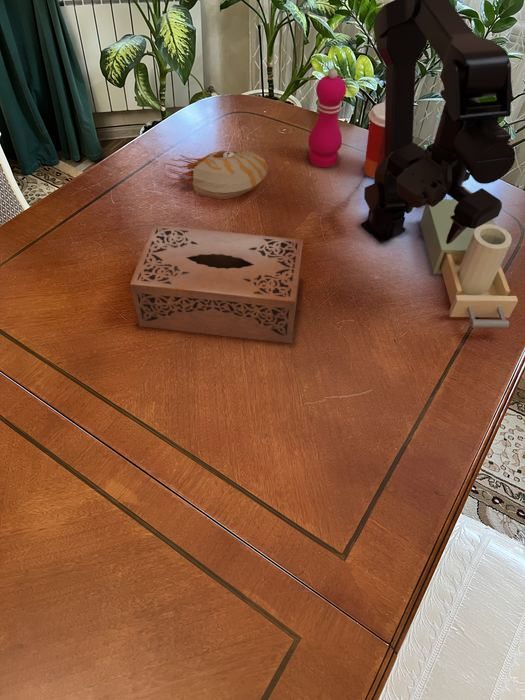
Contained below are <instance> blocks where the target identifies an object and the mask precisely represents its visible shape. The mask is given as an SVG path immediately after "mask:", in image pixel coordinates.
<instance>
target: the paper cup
mask: <svg viewBox="0 0 525 700" xmlns="http://www.w3.org/2000/svg"><path fill="white" fill-rule="evenodd" d="M367 115H368V116H367V117H368V118H369V125H368V133H367V142H366V151H365V159H364V168H363V169H364V174H365V175H366V176H367V177H369V178H372V179H375V171H376V170H377V168H378V166H379V164H380V163H381V161H382V159H383V158H384V147H385V101H384V102H380V103H377V104H375V105H374V106H373V107H372V108H371V109H370V111H369V112H368V114H367Z"/></svg>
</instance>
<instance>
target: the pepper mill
mask: <svg viewBox="0 0 525 700" xmlns="http://www.w3.org/2000/svg"><path fill="white" fill-rule="evenodd" d="M346 94H347V85H346V82H345V80H344V79H343V78H342V77H340V76H338V70H337V69H336V68H331V69H330V70H329V71H328V75H325V76H323V77H321V78H320V79H319V81H318V83H317V84H316V87H315V95H316V97H317V98H318V99H317V102H316V103H317V104H316V108H317V110H318V117H317V120H316V122H315V124H314V126H313V128H312V129H311V131H310V134H309V136H308V146H309V149H310V150H309V154H308V156H309V157H308V160H309V162H310V163H311V164H312V165H313V166H316V167H319V168H329V167H333V166H334V165H336V164H337V162H338V159H339V158H338V157H339V152H338V151H340V149H341V147H342V144H343V137H342V131H341V129H340V126H339V122H338V117H339V112H340V111H341V110H342V105H343V100H344V99H345V97H346Z"/></svg>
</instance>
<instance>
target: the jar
mask: <svg viewBox="0 0 525 700" xmlns="http://www.w3.org/2000/svg"><path fill="white" fill-rule="evenodd" d="M512 241H513V238H512V235H511V234H510V232H509V231H507V229H506V228H504V227H502V226H501V225H500V226H499V225H496V224H495V225H493V224H483V225H481V226H479V227H477V228H475V230H474V233H473V235H472V238H471V240H470V243H469V245H468V248H467V250H466V253H465V255H464V258H463V260H462V263H461V265H460V268H459V270H458V273H457V276H458V279H459V282H460V286H461V289H462V292H463V293H465V294H468V295H484V294H485V293H487V292H488V290H489V289H490V287H491V285H492V282H493V280H494V278H495V276H496V274H497V272H498V270H499V268H500V266H501V267H502V263H503V261H504V259H505V257H506V255H507V253H508V250H509V248H510V247H511V244H512Z"/></svg>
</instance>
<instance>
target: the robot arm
mask: <svg viewBox="0 0 525 700" xmlns="http://www.w3.org/2000/svg"><path fill="white" fill-rule="evenodd" d="M373 34H374V37H375V45H376V51H377V53H378V55H379V56H380V58H381V60H382V62H383V64H384V65H385V97H384V100H385V101H384V102H385V147H384V158H383V159H382V161H381V163H380V164H379V166H378V168H377V170H376V171H375V178H373V179H374V180H373V183H372V184H370V185H368V186H365V187H364V191H363V192H364V194H363V195H364V196H363V199H364V201H365V203H366V205H367V207H368V214H367V218H366V220H365V221H362V222H360V227H361V228H362V229H363V230H364V231H366V232H367V233H368V234H369V235H371V237H373V238H374V239H375V240H377V241H378V242H379V243H381V244H385V243H386V242H388V241H389V240H391V239H394V238H396V237H398V236H400V235H402V234H403V233H405V232H406V228H405V226H404V224H405V221H406V217H405V215H407V214H409V213H412V211H413V210H414V208H415V209H419V208H422V207H425V205H426V204H428V205H430V206H431V207H434V206H435V205H437V204H438V203H439V202H440V201H442V200H443V199H446V196H448V197H450V198H451V199H455V200H456V201H457V202H458V204H457V205H456V206H455V209H454V214H455V215H453V216H451V217H450V218H451V219H452V220H453V223H452V226H451V228H450V231H449V233H448V236H447V240H446V243H447V244H449V243H451V242H453V241H454V240H455V239H456V238H457V237H458V236H459V235H460V234H461V233H462V232H463V231H464V230H465V229H466V228H472V229H475V228H477V227H479V226H481V225H483V224H485V223H487V222H488V221H490V220H492V219H493V220H495V219H496V218H497V217H499V215H500V213H501V211H502V208H503V202H502V200H500V199H499V198H497V197H496V196H495V195H493V194H492V193H490V192H489V191H487V189H484V188H483V187H482V188H479V189H477V190H475V191H473V192H472V191H470V190H469V189H467V188H466V187H465V186H463V183H464V182H466V181H468V180H470V177H472V179H473V180H474V181H475V183H478V184H482V185H488V184H491V183H494V182H497V181H498V180H500V179H502V178H503V177H505V175H507V174H508V173H509V171H510V170H512V168H513V166H514V164H515V162H516V151H515V149H514V148H513V146H512V145H511V144H510V139H511V134H510V133H509V132H508V131H507V130H506V129H505V128H503V127H502V126H501V124H500V123H499V122H498V121H499V119H500V118H507V117H510V116H511V114H512V111H511V110H512V103H513V102H514V94H513V83H512V64H511V60H510V56H509V54H508V52H507V50H506V49H505V48H503V47H502V46H501V45H500V44H498V43H497V42H495V41H494V40H492V39H488V38H485V37H482V36H480V35H477V34H475V33H474V32H473V30H472V29H471V28H470V26H469V25H468V24H467V23H466V21H465V20H464V18H462V16H461V15H460V13H459V12H458V11H457V10H456V8H455V7H454V6H453V4H452V3H451V2H450V0H392V1H389V2H386V3H385V4H383V6H382V7H381V8H380V10H379V11H378V12H377V13H376V14H375V16H374V19H373ZM428 43H429V45H430V46H431V48H432V49H433V51H434V52H435V54H436V55H437V56H438V58H439V60H440V63H441V64H442V68H441V72H440V75H439V78H440V80H441V83H442V85H443V89H442V90H440V93H439V94H440V96H441V98H442V99H443V101H444V104H443V107H442V108H443V109H442V111H441V115H440V119H439V123H438V126H437V130H436V133H435V137H434V140H433V143H431V144H428V145H427V146H426V149H424V148H423V147H421V146H420V145H419V144H416V143H415V142H413V141H414V116H415V90H416V68H417V67H416V66H417V63H418V61H419V59H420V57H421V56H422V54H423V52H424V51H425V49H426V47H427V45H428ZM488 97H495V99H496V100H490V101H480V100H479V99H478V98H488Z"/></svg>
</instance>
